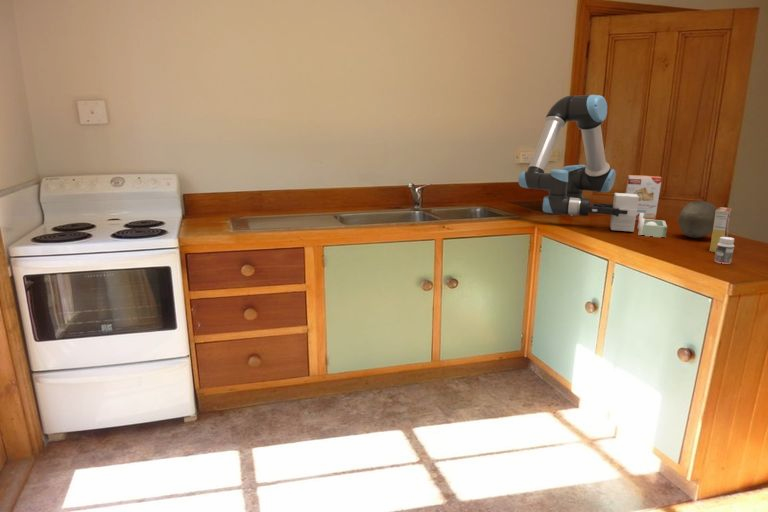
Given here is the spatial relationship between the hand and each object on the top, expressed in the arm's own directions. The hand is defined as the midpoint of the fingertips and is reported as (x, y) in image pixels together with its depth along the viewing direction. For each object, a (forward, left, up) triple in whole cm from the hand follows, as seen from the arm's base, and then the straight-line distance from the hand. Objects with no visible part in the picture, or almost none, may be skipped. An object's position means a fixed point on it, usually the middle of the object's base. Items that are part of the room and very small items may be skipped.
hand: (636, 210), depth 214 cm
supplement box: (0, -5, -8) cm, 10 cm away
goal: (0, +7, -9) cm, 11 cm away
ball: (+1, +6, -6) cm, 9 cm away
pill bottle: (+41, +27, -9) cm, 50 cm away
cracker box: (-31, +3, -9) cm, 32 cm away
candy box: (+22, +28, -9) cm, 36 cm away
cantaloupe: (+3, +23, -9) cm, 24 cm away
